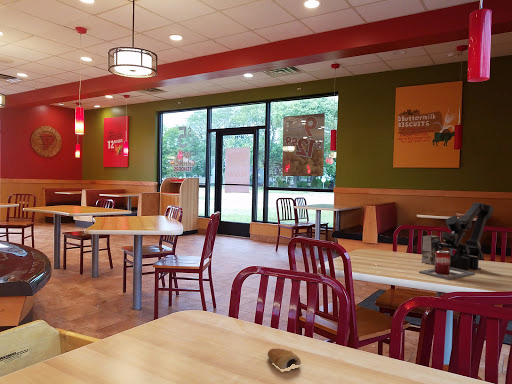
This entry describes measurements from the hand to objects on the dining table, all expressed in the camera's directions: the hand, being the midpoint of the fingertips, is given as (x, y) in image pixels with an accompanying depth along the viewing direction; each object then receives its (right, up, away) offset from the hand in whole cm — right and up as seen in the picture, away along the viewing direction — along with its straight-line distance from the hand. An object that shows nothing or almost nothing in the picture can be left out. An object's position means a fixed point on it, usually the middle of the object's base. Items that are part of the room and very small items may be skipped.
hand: (443, 258), depth 202 cm
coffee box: (+7, -8, +31) cm, 33 cm away
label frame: (+3, -8, +3) cm, 9 cm away
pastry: (-92, -9, -105) cm, 140 cm away
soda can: (-1, -8, 0) cm, 8 cm away
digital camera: (+18, -9, +18) cm, 27 cm away
